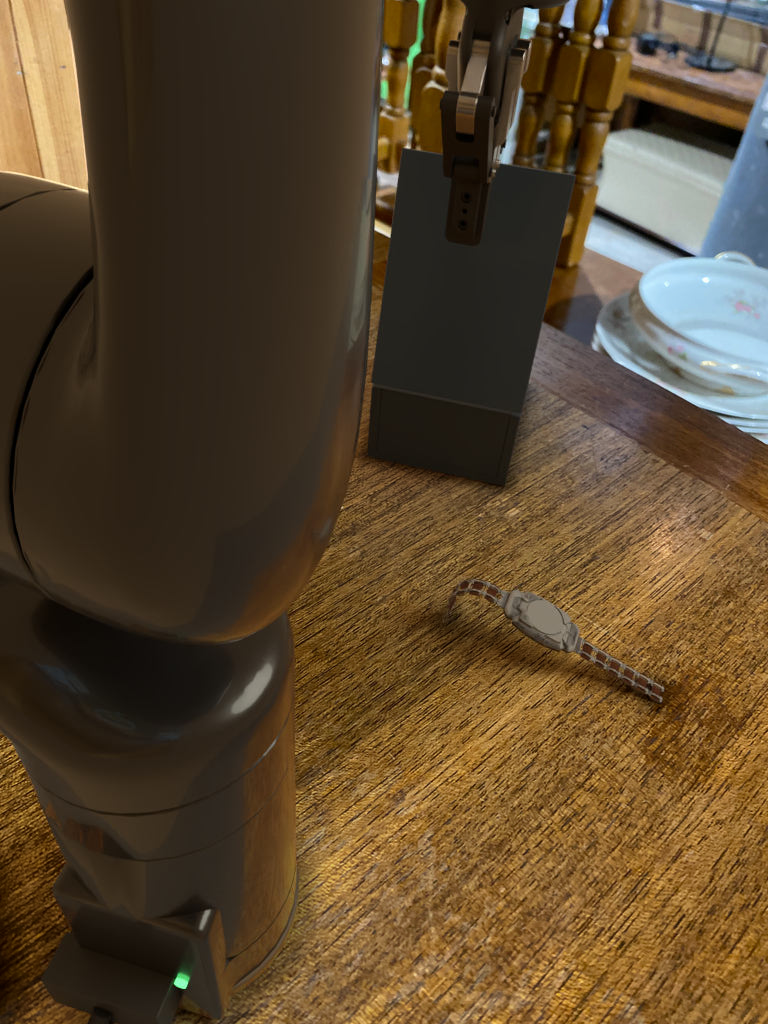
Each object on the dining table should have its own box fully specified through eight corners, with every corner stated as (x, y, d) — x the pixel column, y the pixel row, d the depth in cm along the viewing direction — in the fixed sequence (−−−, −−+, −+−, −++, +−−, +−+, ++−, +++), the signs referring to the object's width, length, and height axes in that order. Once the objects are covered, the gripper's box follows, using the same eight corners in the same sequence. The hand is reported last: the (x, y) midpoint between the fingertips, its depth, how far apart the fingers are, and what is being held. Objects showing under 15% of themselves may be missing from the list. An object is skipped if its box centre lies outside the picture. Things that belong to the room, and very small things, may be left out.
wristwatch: (445, 595, 53) (475, 553, 50) (628, 705, 53) (673, 670, 49) (426, 632, 51) (458, 590, 47) (619, 748, 50) (666, 714, 47)
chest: (409, 363, 76) (416, 299, 71) (527, 387, 74) (542, 322, 70) (366, 456, 65) (371, 386, 60) (504, 486, 63) (520, 417, 58)
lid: (404, 147, 53) (401, 147, 52) (576, 175, 51) (575, 175, 50) (373, 380, 60) (370, 383, 59) (522, 410, 58) (521, 414, 58)
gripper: (461, -138, 41) (427, 193, 53) (402, -128, 32) (376, 274, 43) (603, -123, 40) (536, 211, 52) (586, -108, 31) (509, 298, 42)
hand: (463, 239), depth 48 cm, fingers closed
